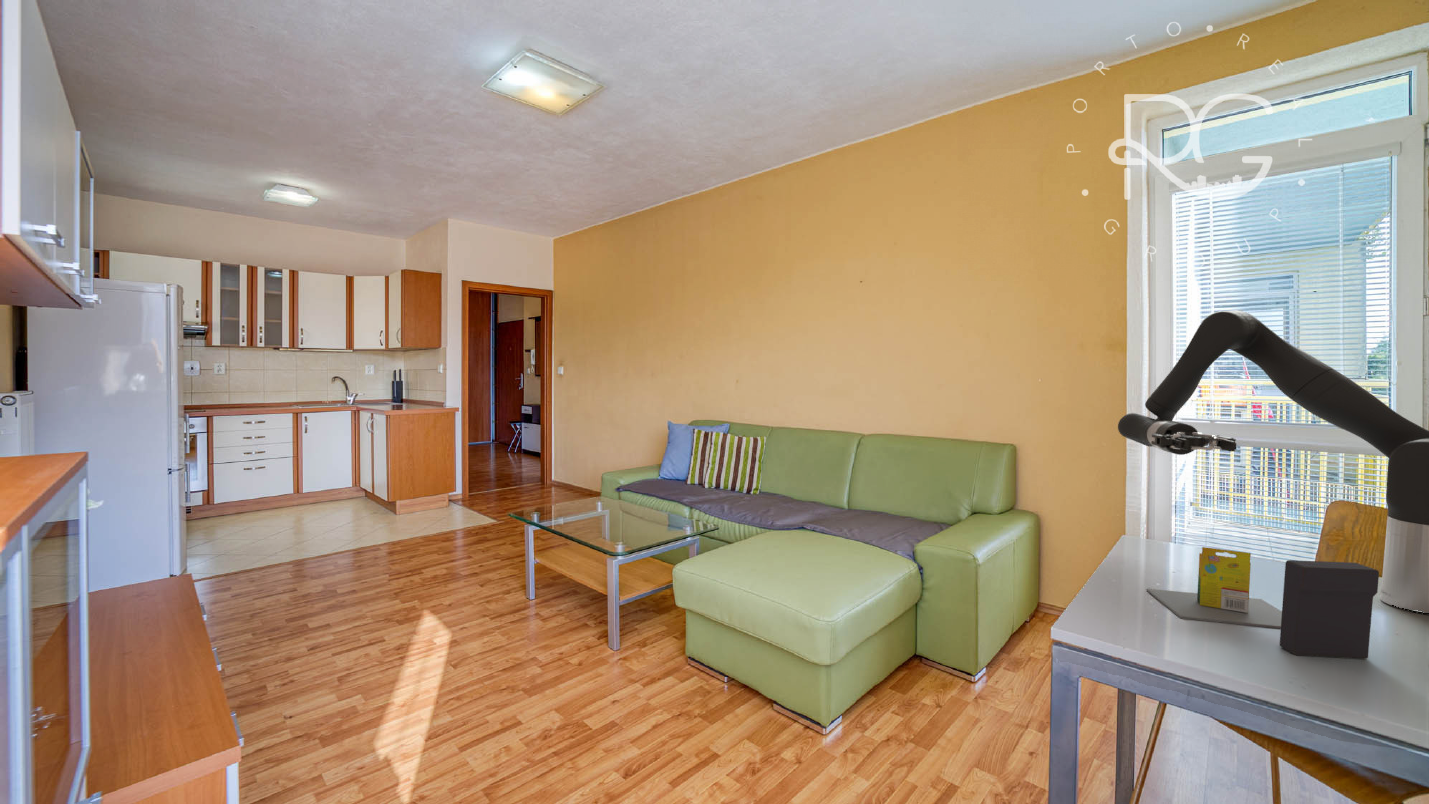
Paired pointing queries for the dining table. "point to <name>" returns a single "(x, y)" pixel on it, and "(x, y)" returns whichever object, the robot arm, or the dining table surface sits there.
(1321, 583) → the black square block
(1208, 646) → the dining table surface
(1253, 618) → the mat
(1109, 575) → the dining table surface
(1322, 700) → the dining table surface
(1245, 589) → the crayon box
